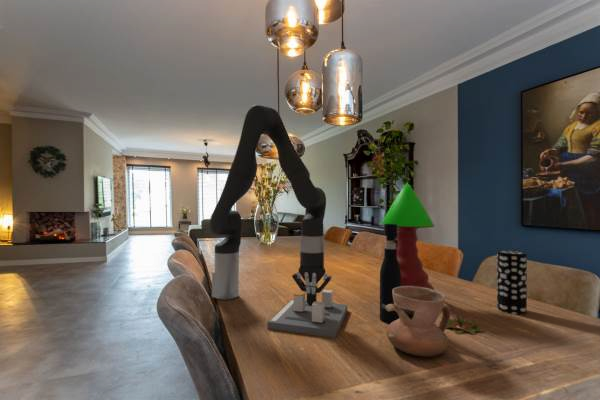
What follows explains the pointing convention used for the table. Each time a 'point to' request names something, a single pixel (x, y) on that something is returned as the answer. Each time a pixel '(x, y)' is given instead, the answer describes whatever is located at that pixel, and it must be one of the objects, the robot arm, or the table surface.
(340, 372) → the table surface
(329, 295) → the breaker
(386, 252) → the wine bottle
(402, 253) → the table lamp
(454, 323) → the green leafy sprig
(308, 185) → the robot arm
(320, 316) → the block
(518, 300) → the white-spotted black cylinder
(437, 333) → the ceramic jug
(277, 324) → the breaker panel
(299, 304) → the block
